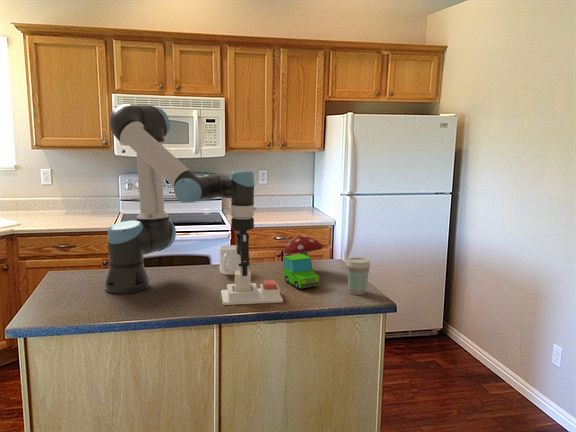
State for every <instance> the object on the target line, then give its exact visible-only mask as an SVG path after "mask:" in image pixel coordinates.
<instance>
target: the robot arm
mask: <svg viewBox="0 0 576 432" xmlns="http://www.w3.org/2000/svg"><path fill="white" fill-rule="evenodd" d="M108 121H109V128H110V129H109V130H110V131H111V133H112V135H113V136H114V137H115V138H116V140H118V141H119V142H120V143H121V144H122V145H123V146H126V147H127V146H128V147H130V149H132V150H133V151H134V152H135V153H136V163H137V164H136V165H137V179H138V193H139V208H140V209H139V210H140V211H139V212H140V213H139V214H138V215H137V216H136V220H126V221H119V222H115V223H114V224H112V225H111V226H109V227H108V229H107V244H108V245H107V247H108V262H109V263H108V265H109V266H108V272H107V274H106V279H105V281H104V290H105V292H108V293H111V294H118V295H119V294H120V295H123V294H134V293H139V292H142V291H145V290H147V289H149V287H150V278H149V276H148V274H147V271H146V268H145V266H144V255H149V254H153V253H155V252H161V251H163V250H165V249H168V248H170V247H172V245H173V244H174V242H175V240H176V237H177V229H176V226H175V224H174V222H173V221H172V220H171V219H170V217H169V214H168V213H167V212H166V211H165V205H164V203H165V202H164V186H163V179H165V180H166V181H167V182H168V183H169V185H171V186H172V187H173V193H174V195H175V198H176V199H177V200H178V201H179V202H182V203H196V202H200V201H204V200H212V199H217V198H224V199H230V201H231V204H230V215H231V217H232V218H230V219H231V220H230V221H231V223H230V225H231V229H232V230H234V231H237V232H236V234H235V236H236V237H235V238H236V246H237V249H236V250H237V254H238V255H237V271H240V285H249V270H250V269H249V267H250V264H251V263H250V252H249V251H250V250H249V248H250V247H249V246H250V235H249V233H248V231H251V230H254V229H255V218H254V216H255V210H256V206H255V201H254V200H255V198H254V197H255V184H256V183H255V175H254V172H253V171H252V170H245V169H244V170H241V169H239V170H237V169H236V170H232V171H231V174H230V175H223V174H222V175H220V174H216V173H215V174H214V173H213V174H205V175H203V176H197V175H196V174H195V173H194V172H193V171H192V170H190V169H189V168H188V167H186V166H185V164H184V163H183V162H181V160H179V159H178V158H177V157H176V156H175V155H173V153H171V152H170V151H169V150H168V149H167V148H166V147H164V143H165V137H166V136H168V133H169V131H170V127H171V126H170V125H171V124H170V120H169V117H168V114H167V113H166V111H164V109H162V108H160V107H158V106H154V105H148V104H146V105H145V104H143V105H140V104H130V103H129V104H128V103H125V104H121V105H118V106H117V107H116V108H115V109H113V110H112V112H111V113H110V116H109V120H108Z"/></svg>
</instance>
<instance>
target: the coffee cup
mask: <svg viewBox="0 0 576 432" xmlns="http://www.w3.org/2000/svg"><path fill="white" fill-rule="evenodd" d="M345 265H346V269H347V271H346V272H347V273H346V274H347V283H348V293H349V294H350V295H353V296H354V295H355V296H363V295H365V294H366V291H367V285H368V279H369V272H370V268H371V263H370V260H369V259H367V258H365V257H349V258H348V259H347V261H346V264H345Z"/></svg>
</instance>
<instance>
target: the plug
mask: <svg viewBox="0 0 576 432" xmlns="http://www.w3.org/2000/svg"><path fill="white" fill-rule="evenodd" d="M251 274H252V273H251V271H250V269H249V285H240V271H235V275H234V284H235V292H244V291H251V283H252V281H251V280H252V279H251V278H252V277H251V276H252V275H251Z"/></svg>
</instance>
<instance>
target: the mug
mask: <svg viewBox="0 0 576 432" xmlns="http://www.w3.org/2000/svg"><path fill="white" fill-rule="evenodd" d="M236 249H237V244H236V245H235V244H234V245H233V244H226V245H221V246H219V273H220V274H221V275H227V276H233V275H234V276H235V271H237V255H238V254H237V250H236Z"/></svg>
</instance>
